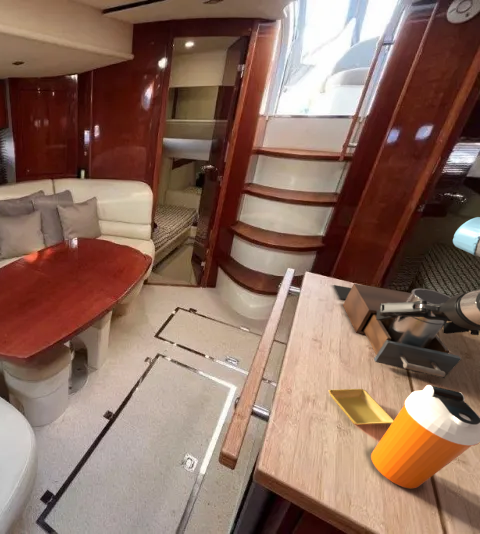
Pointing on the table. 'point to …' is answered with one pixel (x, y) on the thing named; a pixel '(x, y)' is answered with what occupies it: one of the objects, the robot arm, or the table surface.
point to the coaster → (342, 292)
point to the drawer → (409, 351)
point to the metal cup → (418, 321)
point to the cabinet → (368, 303)
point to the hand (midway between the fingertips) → (410, 321)
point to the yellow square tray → (360, 407)
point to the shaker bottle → (426, 436)
